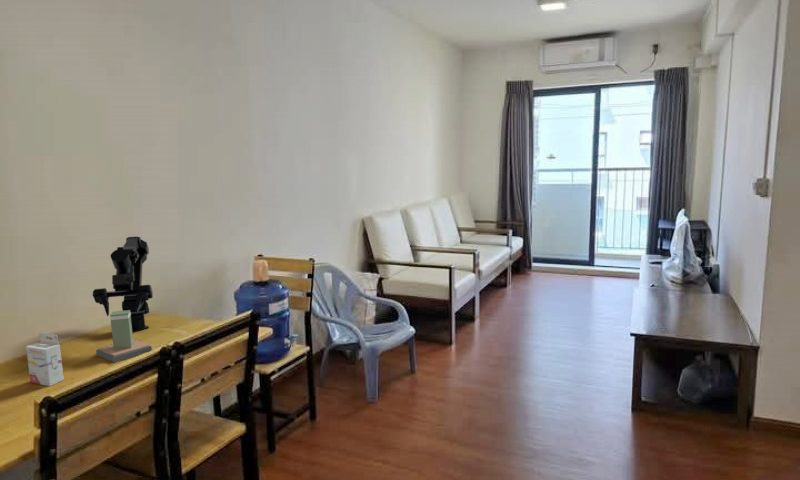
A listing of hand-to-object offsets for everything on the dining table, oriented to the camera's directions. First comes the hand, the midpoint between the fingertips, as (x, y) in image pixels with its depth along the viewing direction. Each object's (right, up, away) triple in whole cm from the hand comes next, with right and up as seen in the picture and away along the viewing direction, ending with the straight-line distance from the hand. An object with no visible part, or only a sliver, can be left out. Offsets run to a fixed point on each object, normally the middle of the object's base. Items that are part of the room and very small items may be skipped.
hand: (122, 314), depth 186 cm
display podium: (+1, -14, 0) cm, 14 cm away
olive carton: (+1, -11, -1) cm, 11 cm away
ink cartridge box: (-10, -18, -24) cm, 32 cm away
